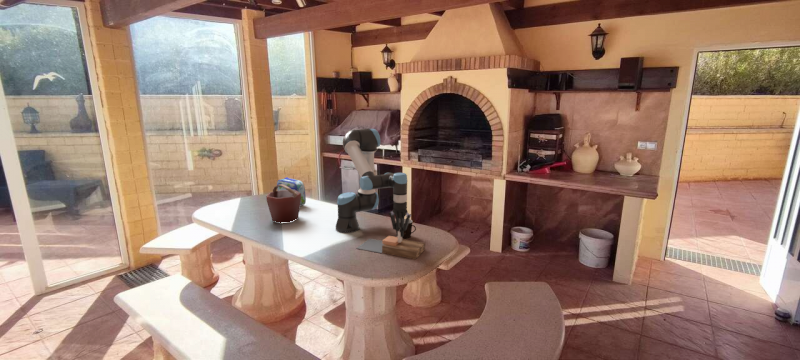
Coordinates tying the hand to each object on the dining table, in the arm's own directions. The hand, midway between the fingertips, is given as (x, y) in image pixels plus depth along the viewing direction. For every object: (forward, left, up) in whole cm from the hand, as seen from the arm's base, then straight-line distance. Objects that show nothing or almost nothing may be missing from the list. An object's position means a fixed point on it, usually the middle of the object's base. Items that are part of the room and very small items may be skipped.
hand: (399, 241), depth 214 cm
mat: (0, -15, -5) cm, 16 cm away
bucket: (-15, -95, -5) cm, 96 cm away
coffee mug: (-20, -4, -5) cm, 21 cm away
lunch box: (-47, -116, -5) cm, 125 cm away
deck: (0, +2, -5) cm, 6 cm away
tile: (0, -5, -1) cm, 5 cm away
